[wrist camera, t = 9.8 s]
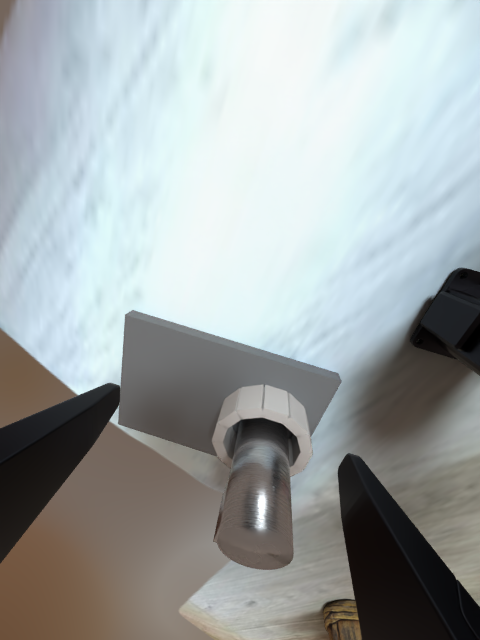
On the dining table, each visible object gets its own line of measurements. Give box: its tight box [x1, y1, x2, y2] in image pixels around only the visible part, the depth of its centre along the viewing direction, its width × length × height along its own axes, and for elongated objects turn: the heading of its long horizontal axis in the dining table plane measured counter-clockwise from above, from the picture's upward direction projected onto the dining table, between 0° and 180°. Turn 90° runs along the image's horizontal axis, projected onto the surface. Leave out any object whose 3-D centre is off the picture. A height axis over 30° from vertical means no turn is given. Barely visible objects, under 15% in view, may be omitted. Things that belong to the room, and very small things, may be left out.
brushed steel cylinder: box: [214, 417, 293, 570], centre depth 20 cm, size 9×5×10 cm, turn 166°
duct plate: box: [118, 310, 342, 477], centre depth 23 cm, size 20×14×4 cm
